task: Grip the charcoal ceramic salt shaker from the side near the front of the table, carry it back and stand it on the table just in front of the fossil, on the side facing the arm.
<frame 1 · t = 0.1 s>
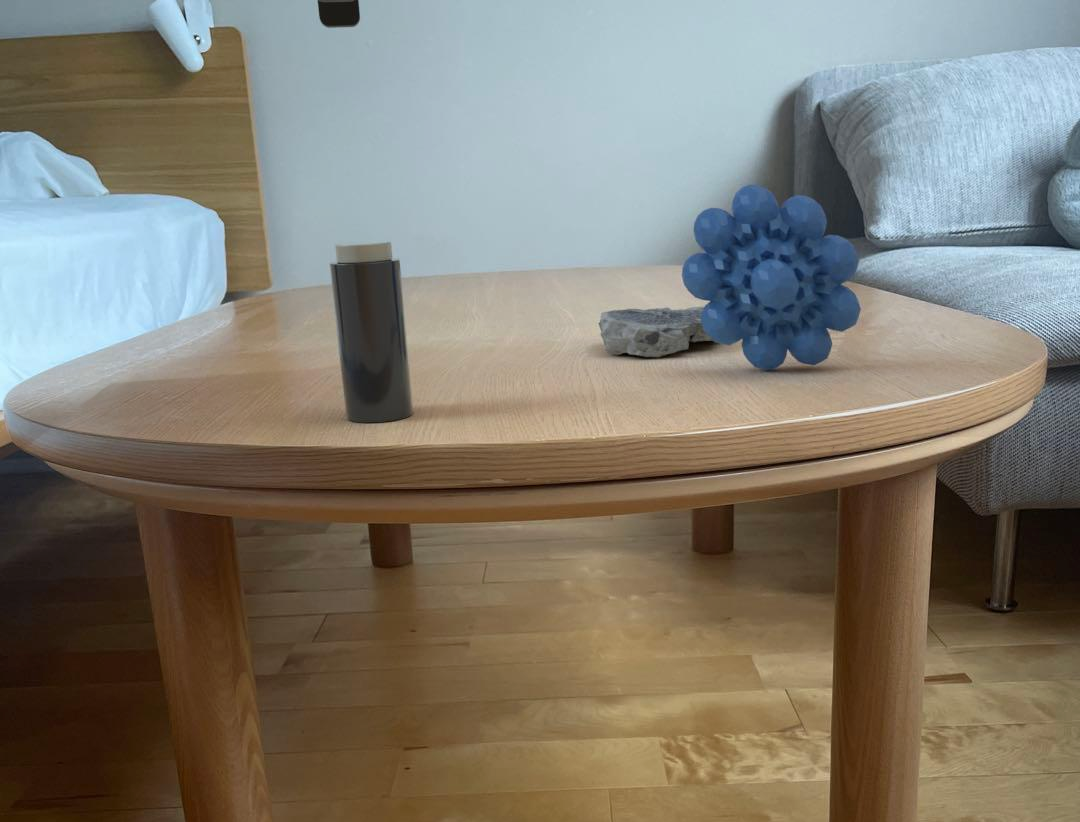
hand: (338, 14, 54), 21 cm above the table, tool pointing down, fingers open, 8 cm apart
blue flower toy: (769, 375, 70), on the table
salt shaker: (379, 415, 63), on the table
fossil: (657, 349, 83), on the table
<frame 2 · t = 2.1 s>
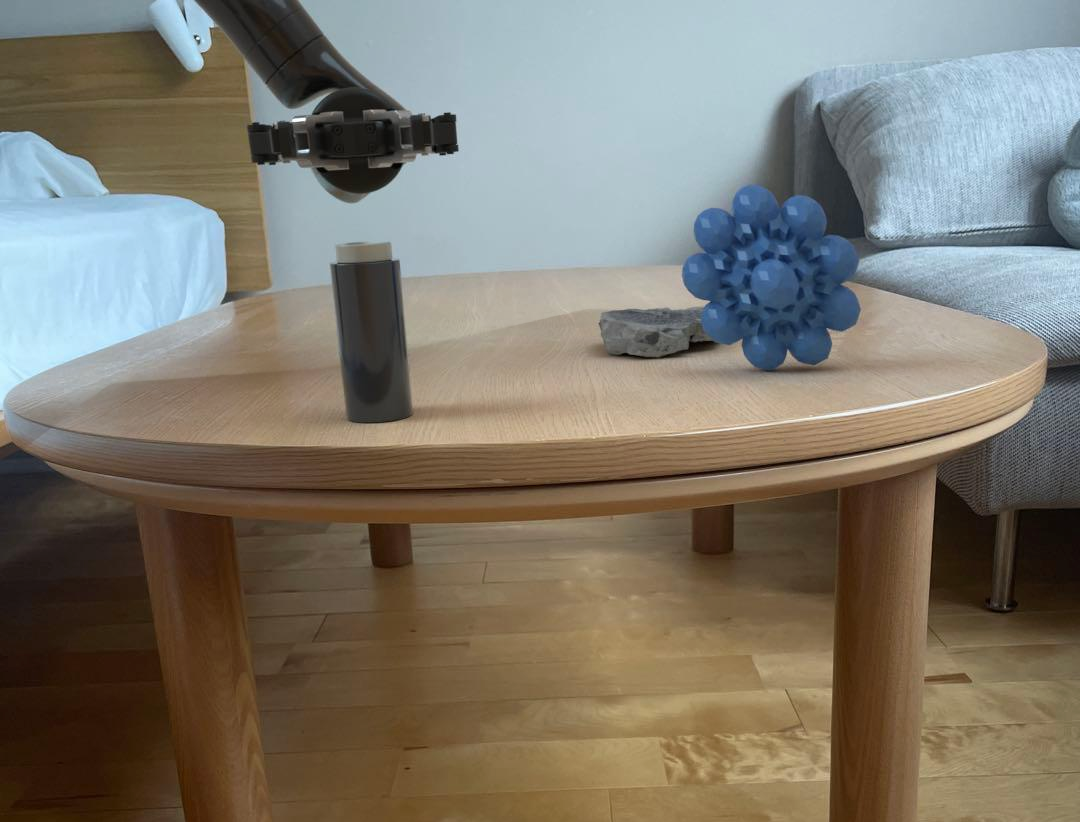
hand: (352, 136, 67), 16 cm above the table, tool horizontal, fingers open, 8 cm apart
nothing on the table moved.
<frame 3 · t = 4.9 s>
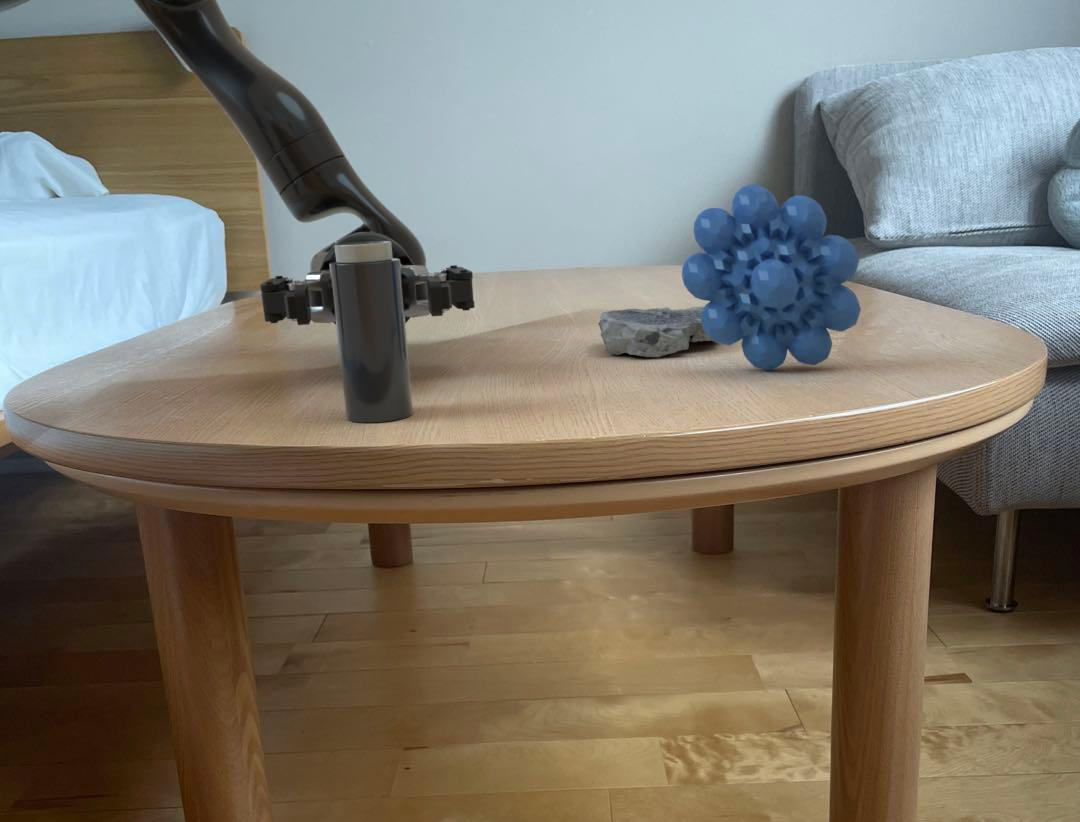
hand: (369, 303, 66), 6 cm above the table, tool horizontal, fingers open, 8 cm apart
nothing on the table moved.
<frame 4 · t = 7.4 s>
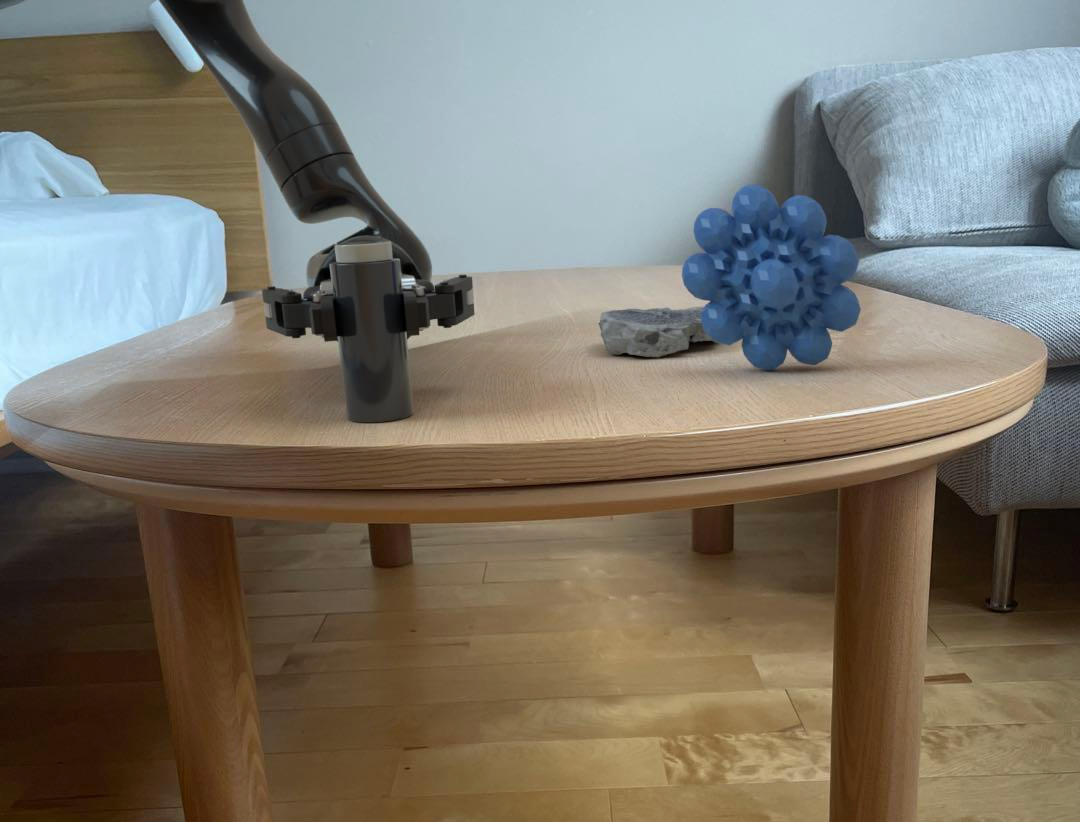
hand: (370, 319, 58), 6 cm above the table, tool horizontal, fingers closed on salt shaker, 4 cm apart
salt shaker: (380, 415, 63), on the table, touching gripper
everything else where it was.
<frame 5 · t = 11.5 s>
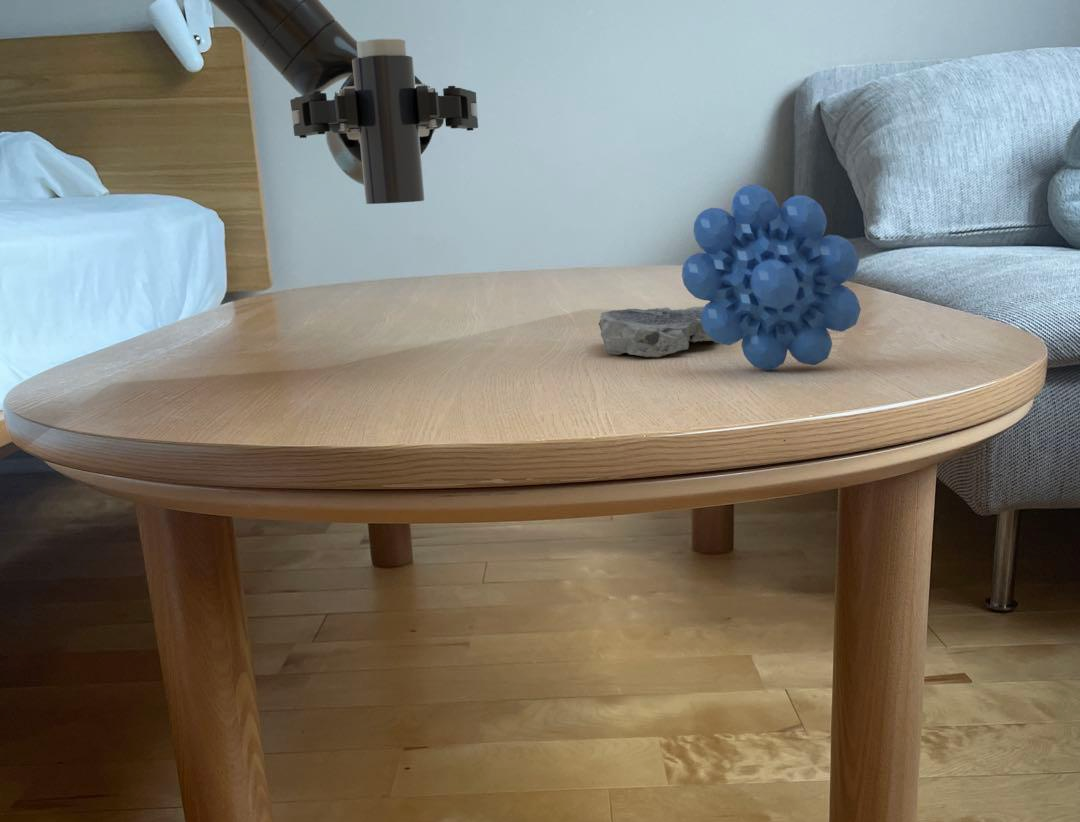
hand: (388, 105, 67), 18 cm above the table, tool horizontal, fingers closed on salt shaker, 4 cm apart
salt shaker: (395, 202, 72), point 12 cm above the table, touching gripper
everything else where it was.
when the fingers open (6 cm above the table, at t = 15.7 s): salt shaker stays where it is, on the table.
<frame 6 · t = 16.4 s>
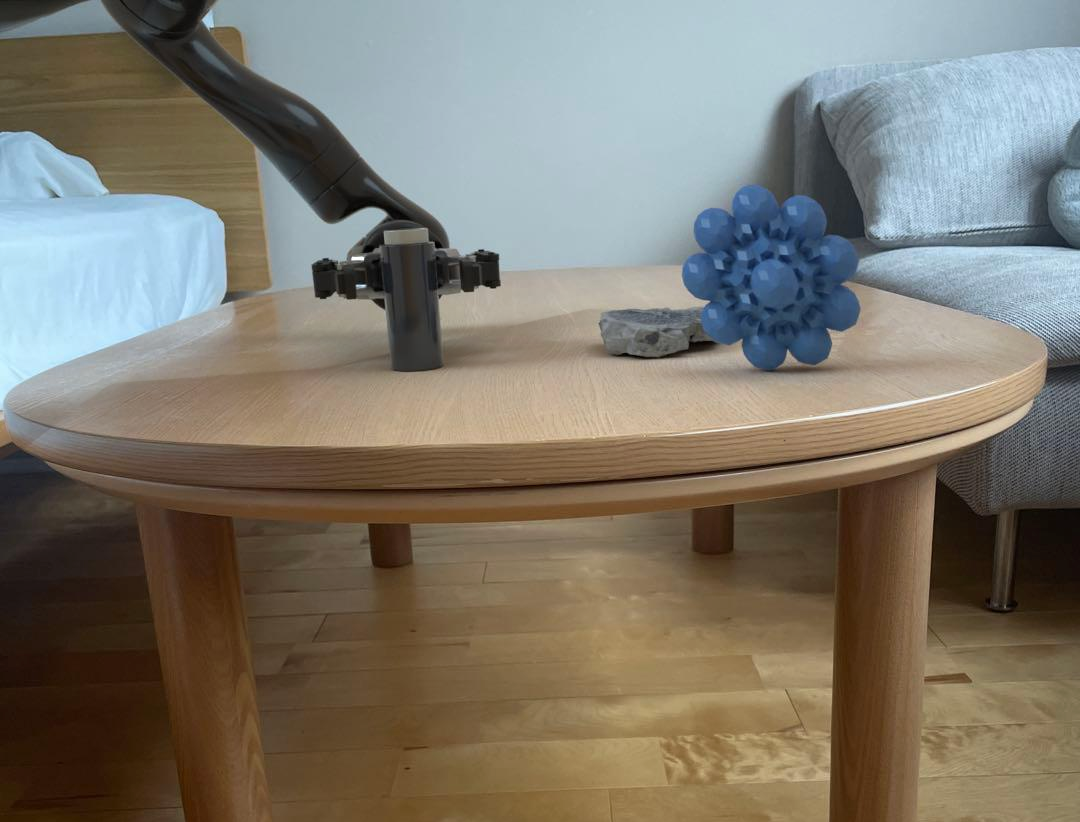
hand: (410, 280, 75), 7 cm above the table, tool horizontal, fingers open, 8 cm apart
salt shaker: (417, 366, 79), on the table
everything else where it was.
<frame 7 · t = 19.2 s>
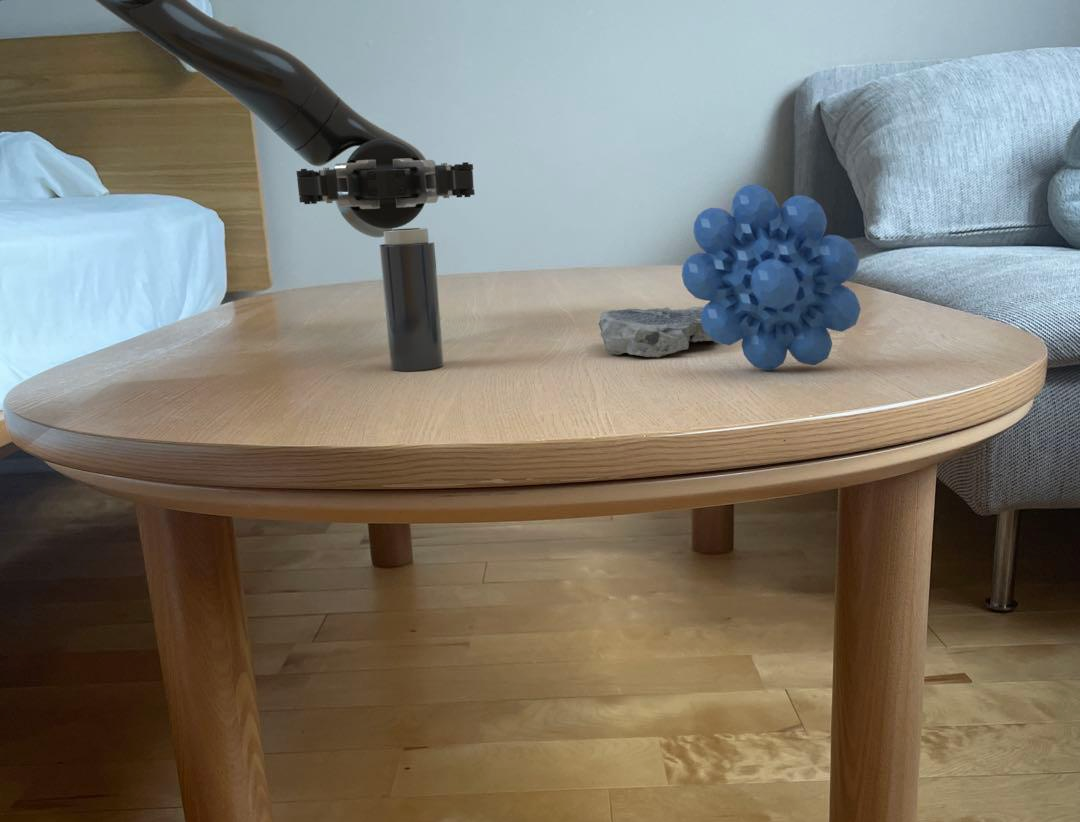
hand: (387, 182, 80), 13 cm above the table, tool horizontal, fingers open, 8 cm apart
nothing on the table moved.
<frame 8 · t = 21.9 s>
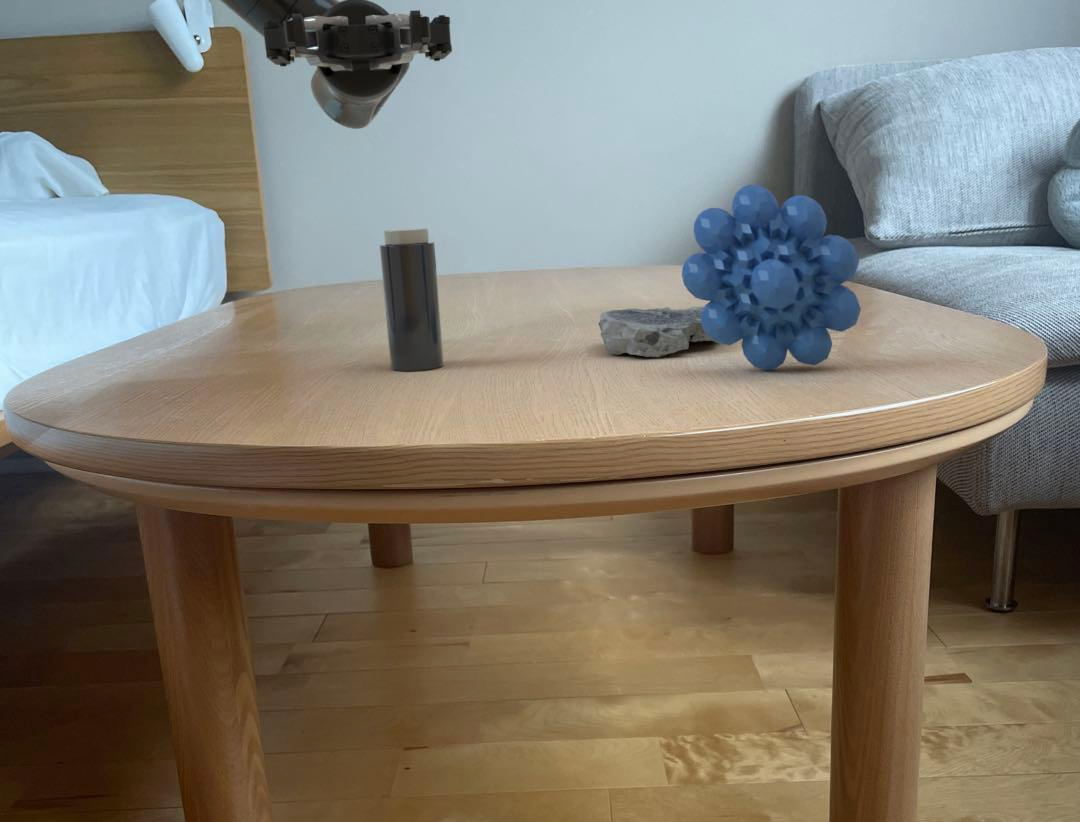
hand: (358, 27, 76), 24 cm above the table, tool horizontal, fingers open, 8 cm apart
nothing on the table moved.
at the end: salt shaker inside the target area on the table beside the fossil (0.6 cm from its centre), on the table; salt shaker tilted 0°; the gripper is holding nothing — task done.
